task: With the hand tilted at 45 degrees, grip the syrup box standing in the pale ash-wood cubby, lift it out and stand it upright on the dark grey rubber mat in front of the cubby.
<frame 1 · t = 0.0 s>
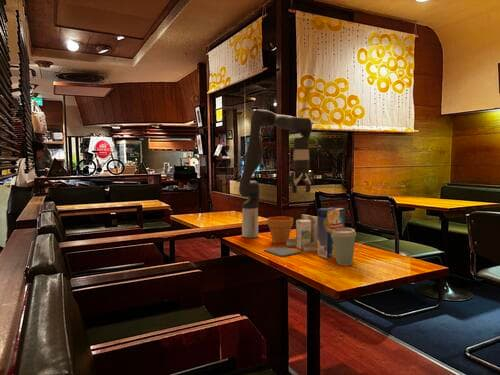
hand: (301, 192, 173), 29 cm above the table, tool pointing down, fingers open, 8 cm apart
syrup box: (303, 248, 182), on the table
flower pot: (280, 241, 198), on the table
mat: (282, 252, 174), on the table
disposable coffee cup: (343, 264, 154), on the table
cubby: (303, 247, 182), on the table
beverage box: (330, 255, 168), on the table
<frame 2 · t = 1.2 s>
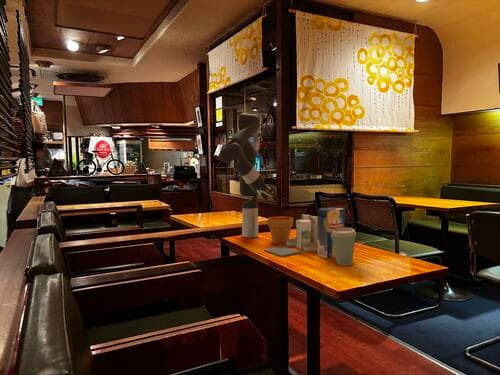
hand: (272, 199, 176), 26 cm above the table, tool tilted 45°, fingers open, 8 cm apart
nothing on the table moved.
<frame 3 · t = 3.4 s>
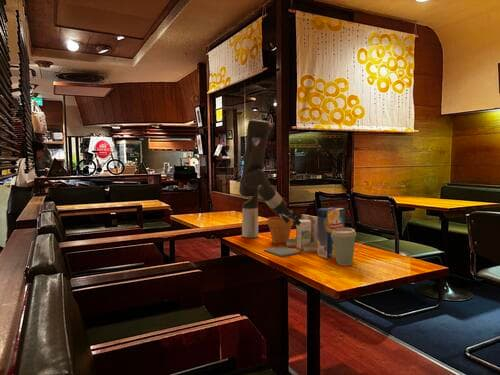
hand: (293, 222, 178), 14 cm above the table, tool tilted 45°, fingers open, 8 cm apart
nothing on the table moved.
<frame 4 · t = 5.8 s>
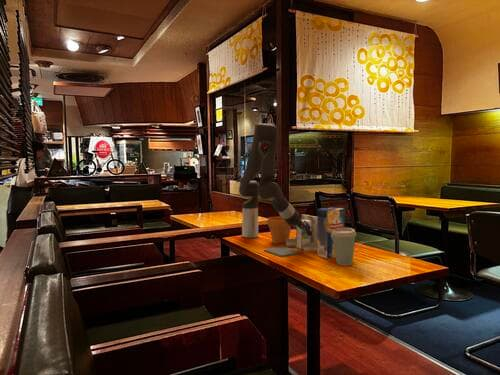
hand: (305, 233, 183), 7 cm above the table, tool tilted 45°, fingers closed on syrup box, 6 cm apart
syrup box: (303, 248, 182), on the table, touching gripper
everything else where it was.
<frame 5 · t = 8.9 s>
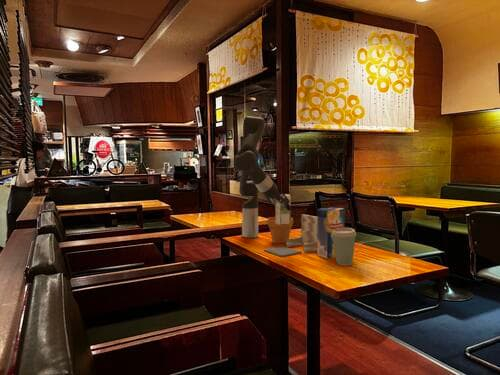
hand: (285, 208, 174), 21 cm above the table, tool tilted 45°, fingers closed on syrup box, 6 cm apart
syrup box: (282, 224, 174), point 14 cm above the table, touching gripper
everything else where it was.
when the fingers open (10 cm above the table, at t = 12.3 s): syrup box drops 1 cm, resting on mat.
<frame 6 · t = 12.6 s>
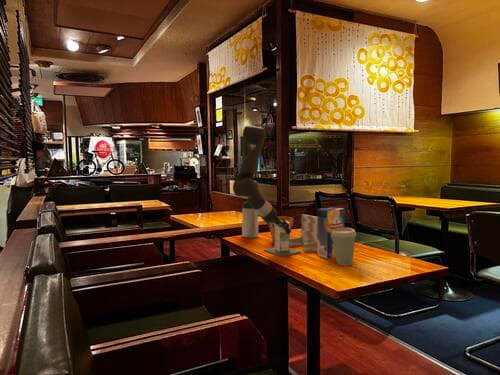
hand: (284, 231, 174), 10 cm above the table, tool tilted 45°, fingers open, 8 cm apart
syrup box: (282, 250, 174), point 1 cm above the table, touching mat
everything else where it was.
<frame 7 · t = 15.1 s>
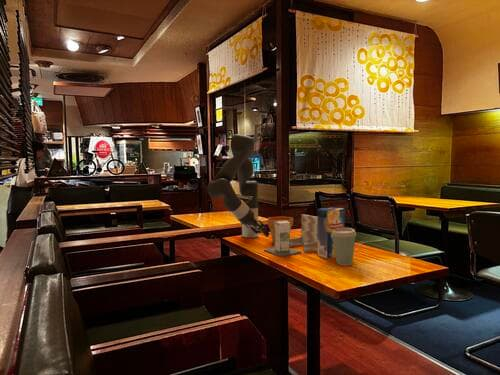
hand: (262, 233, 168), 10 cm above the table, tool tilted 45°, fingers open, 8 cm apart
nothing on the table moved.
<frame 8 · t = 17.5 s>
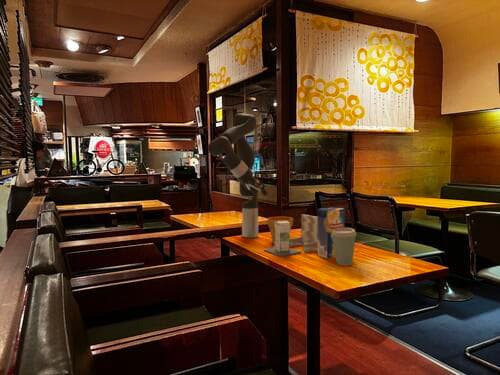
hand: (261, 193, 175), 29 cm above the table, tool tilted 45°, fingers open, 8 cm apart
nothing on the table moved.
at the end: syrup box inside the target area (0.1 cm from its centre), point 0.6 cm above the table; syrup box tilted 0°; the gripper is holding nothing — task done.
